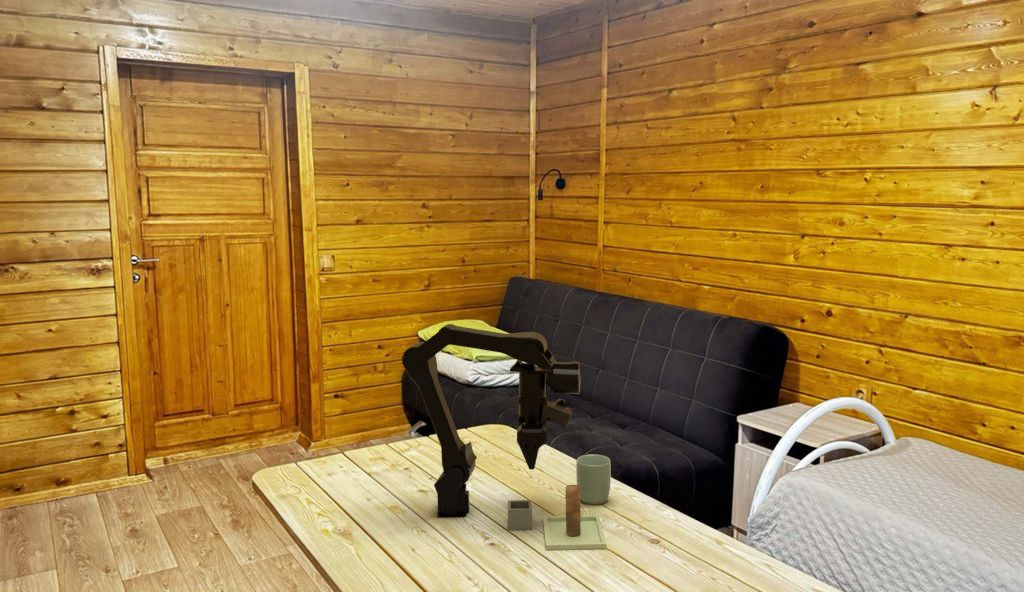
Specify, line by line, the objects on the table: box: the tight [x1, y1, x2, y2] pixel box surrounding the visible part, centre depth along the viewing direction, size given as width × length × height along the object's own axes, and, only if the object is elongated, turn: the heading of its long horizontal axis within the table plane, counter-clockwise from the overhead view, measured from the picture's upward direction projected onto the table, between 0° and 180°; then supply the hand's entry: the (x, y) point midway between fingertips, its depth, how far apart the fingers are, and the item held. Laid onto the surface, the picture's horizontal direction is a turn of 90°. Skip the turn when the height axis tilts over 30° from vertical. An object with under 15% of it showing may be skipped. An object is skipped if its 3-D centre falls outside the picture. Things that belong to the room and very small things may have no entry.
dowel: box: [565, 484, 582, 537], centre depth 162 cm, size 3×3×10 cm
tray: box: [542, 514, 608, 551], centre depth 163 cm, size 12×14×2 cm
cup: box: [575, 453, 612, 506], centre depth 180 cm, size 8×8×10 cm
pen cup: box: [507, 499, 533, 532], centre depth 168 cm, size 5×5×5 cm
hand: (531, 461), depth 171 cm, fingers open, 9 cm apart
